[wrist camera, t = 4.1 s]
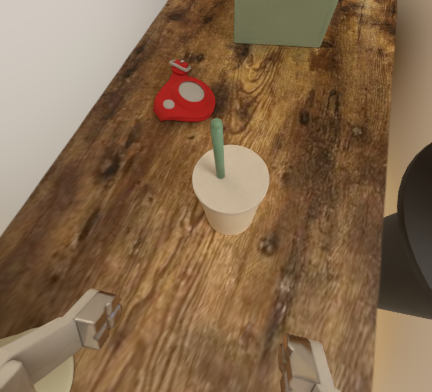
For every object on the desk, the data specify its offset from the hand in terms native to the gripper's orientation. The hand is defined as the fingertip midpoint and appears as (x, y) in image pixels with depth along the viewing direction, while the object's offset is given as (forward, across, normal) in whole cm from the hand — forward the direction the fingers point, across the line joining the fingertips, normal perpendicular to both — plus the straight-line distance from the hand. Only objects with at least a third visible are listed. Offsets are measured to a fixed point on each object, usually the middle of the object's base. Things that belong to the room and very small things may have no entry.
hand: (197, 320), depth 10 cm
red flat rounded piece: (+29, +10, -10) cm, 33 cm away
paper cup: (+16, 0, +2) cm, 17 cm away
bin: (+46, -3, -26) cm, 53 cm away
